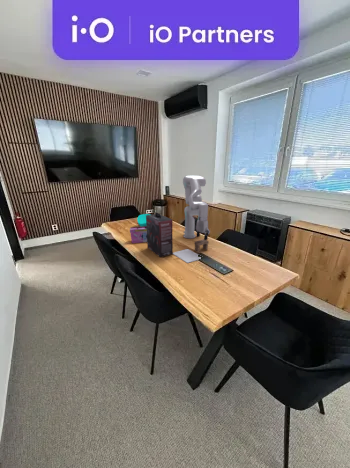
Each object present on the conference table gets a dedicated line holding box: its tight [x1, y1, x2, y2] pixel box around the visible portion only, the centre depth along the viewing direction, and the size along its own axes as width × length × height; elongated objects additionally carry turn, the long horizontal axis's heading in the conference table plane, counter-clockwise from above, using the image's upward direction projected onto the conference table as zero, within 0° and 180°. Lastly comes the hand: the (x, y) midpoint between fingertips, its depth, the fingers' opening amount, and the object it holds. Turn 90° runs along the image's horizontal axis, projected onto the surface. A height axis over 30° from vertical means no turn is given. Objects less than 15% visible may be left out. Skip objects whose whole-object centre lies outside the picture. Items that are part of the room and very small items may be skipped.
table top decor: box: [136, 213, 152, 227], centre depth 230 cm, size 40×28×13 cm
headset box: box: [146, 211, 174, 258], centre depth 168 cm, size 25×12×33 cm, turn 32°
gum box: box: [129, 226, 147, 244], centre depth 193 cm, size 24×8×14 cm, turn 105°
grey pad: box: [172, 248, 202, 264], centre depth 164 cm, size 21×16×1 cm
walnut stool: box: [193, 239, 210, 253], centre depth 174 cm, size 6×11×8 cm, turn 124°
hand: (201, 238), depth 171 cm, fingers open, 9 cm apart
